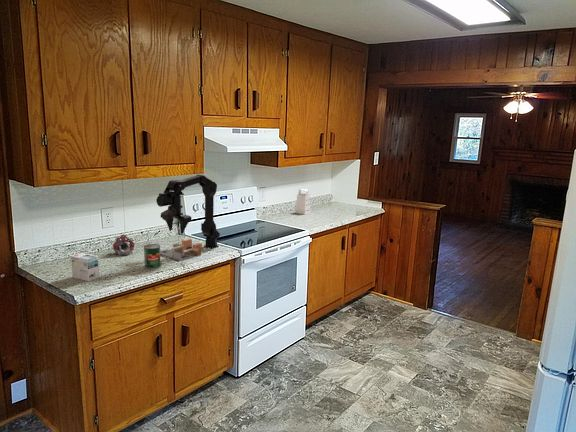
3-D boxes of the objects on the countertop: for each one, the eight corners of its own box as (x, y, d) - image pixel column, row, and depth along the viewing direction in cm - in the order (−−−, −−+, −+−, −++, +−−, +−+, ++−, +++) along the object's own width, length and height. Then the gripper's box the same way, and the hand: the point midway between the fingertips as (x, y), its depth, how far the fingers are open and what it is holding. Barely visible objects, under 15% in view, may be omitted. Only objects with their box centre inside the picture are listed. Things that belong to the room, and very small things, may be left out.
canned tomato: (154, 263, 229) (153, 243, 227) (163, 266, 225) (163, 245, 222) (141, 266, 223) (140, 246, 220) (151, 270, 218) (150, 249, 216)
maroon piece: (115, 253, 234) (112, 233, 239) (112, 261, 243) (110, 241, 247) (137, 251, 240) (133, 231, 244) (134, 258, 249) (130, 239, 253)
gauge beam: (178, 247, 258) (178, 237, 257) (202, 254, 247) (202, 243, 246) (160, 252, 248) (160, 241, 247) (185, 259, 237) (185, 248, 235)
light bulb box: (100, 277, 206) (99, 255, 204) (88, 281, 200) (87, 259, 198) (83, 273, 210) (82, 252, 208) (71, 277, 204) (70, 255, 202)
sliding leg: (188, 249, 253) (188, 238, 252) (192, 250, 252) (191, 239, 250) (170, 254, 243) (170, 242, 242) (174, 255, 241) (174, 243, 240)
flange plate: (167, 250, 251) (167, 249, 251) (191, 258, 240) (191, 256, 240) (155, 253, 245) (155, 252, 245) (180, 261, 234) (180, 259, 234)
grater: (300, 210, 382) (301, 188, 378) (310, 212, 377) (311, 189, 373) (294, 212, 373) (295, 189, 369) (305, 214, 368) (306, 190, 364)
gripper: (151, 203, 234) (153, 232, 238) (175, 208, 224) (176, 238, 227) (168, 201, 243) (169, 228, 247) (191, 205, 233) (192, 233, 236)
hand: (176, 232), depth 239 cm, fingers open, 9 cm apart
